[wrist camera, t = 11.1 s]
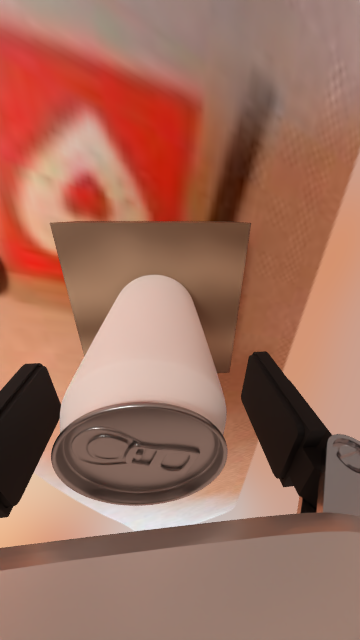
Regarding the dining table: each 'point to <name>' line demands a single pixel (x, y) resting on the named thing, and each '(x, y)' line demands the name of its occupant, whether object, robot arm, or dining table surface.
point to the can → (144, 403)
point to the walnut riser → (156, 270)
